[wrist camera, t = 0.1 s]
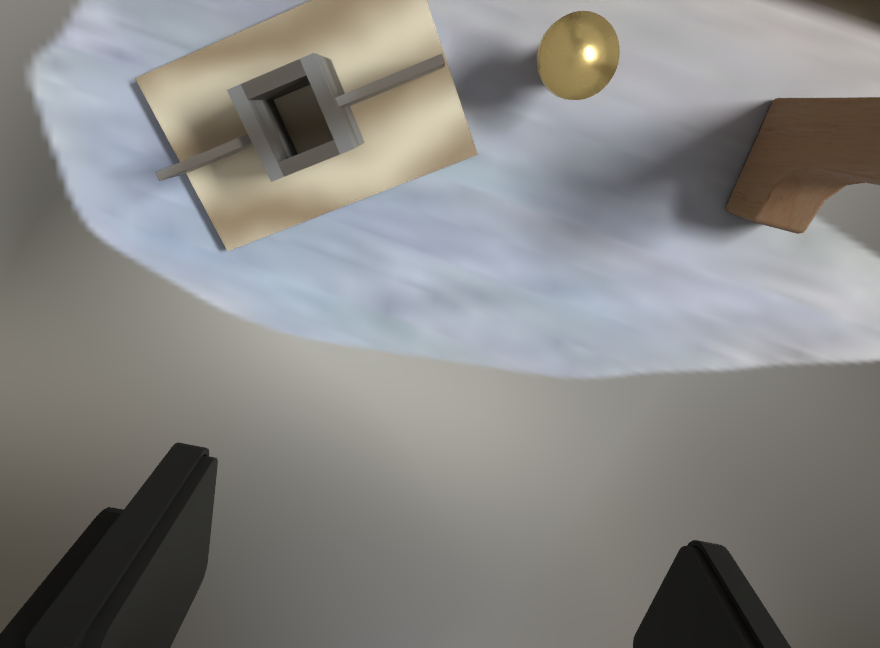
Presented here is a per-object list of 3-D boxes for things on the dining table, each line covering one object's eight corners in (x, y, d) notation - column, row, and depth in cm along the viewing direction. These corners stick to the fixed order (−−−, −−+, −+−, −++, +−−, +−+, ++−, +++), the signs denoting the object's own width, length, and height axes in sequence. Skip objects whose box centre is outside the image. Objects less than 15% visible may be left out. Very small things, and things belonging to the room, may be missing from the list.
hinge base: (141, 78, 41) (87, 74, 35) (412, -41, 38) (407, -70, 32) (231, 248, 46) (198, 272, 40) (476, 153, 43) (483, 162, 37)
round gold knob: (516, 39, 40) (529, 30, 35) (584, 11, 40) (608, -3, 34) (536, 110, 42) (551, 111, 37) (602, 84, 42) (627, 82, 36)
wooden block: (771, 223, 46) (962, 294, 29) (721, 210, 45) (887, 274, 29) (824, 111, 42) (1075, 118, 26) (772, 96, 42) (992, 94, 25)
